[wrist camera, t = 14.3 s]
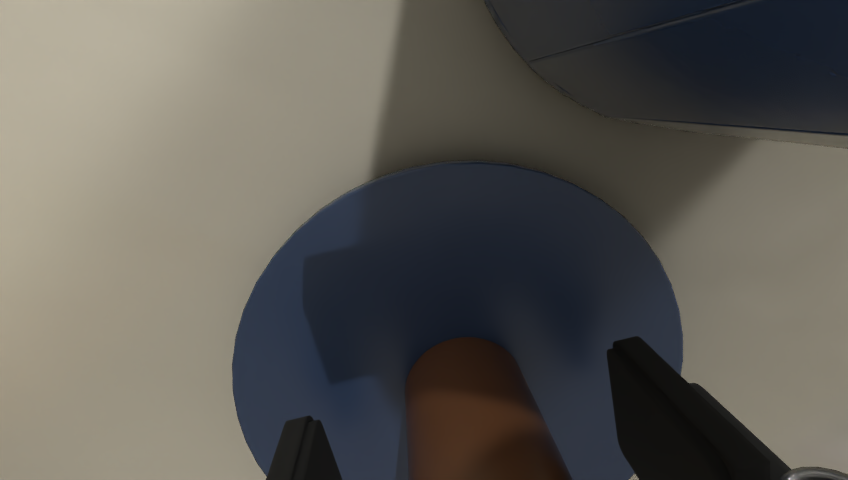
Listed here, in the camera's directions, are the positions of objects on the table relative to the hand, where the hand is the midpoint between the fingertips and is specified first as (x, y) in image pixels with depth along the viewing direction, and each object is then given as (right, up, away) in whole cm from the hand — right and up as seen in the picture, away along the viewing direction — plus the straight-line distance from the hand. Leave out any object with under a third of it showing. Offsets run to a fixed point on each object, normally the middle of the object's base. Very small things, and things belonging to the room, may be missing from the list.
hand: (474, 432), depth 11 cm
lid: (0, +1, +2) cm, 2 cm away
